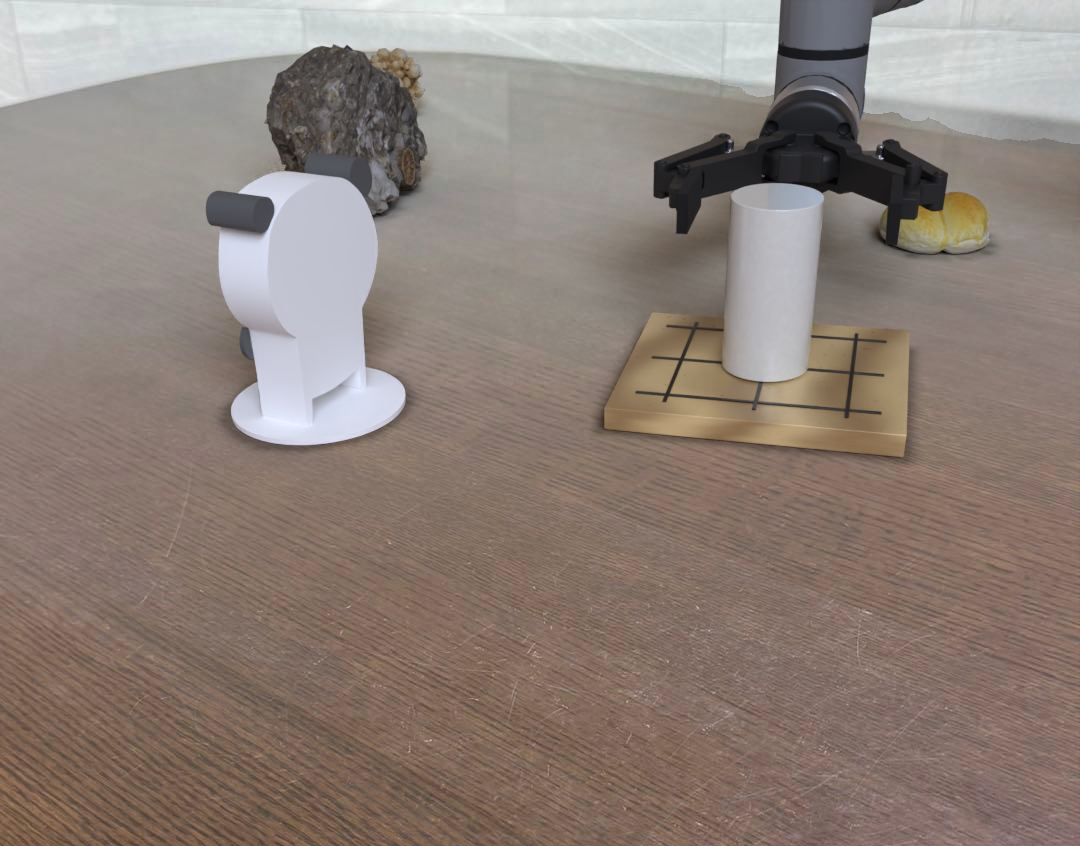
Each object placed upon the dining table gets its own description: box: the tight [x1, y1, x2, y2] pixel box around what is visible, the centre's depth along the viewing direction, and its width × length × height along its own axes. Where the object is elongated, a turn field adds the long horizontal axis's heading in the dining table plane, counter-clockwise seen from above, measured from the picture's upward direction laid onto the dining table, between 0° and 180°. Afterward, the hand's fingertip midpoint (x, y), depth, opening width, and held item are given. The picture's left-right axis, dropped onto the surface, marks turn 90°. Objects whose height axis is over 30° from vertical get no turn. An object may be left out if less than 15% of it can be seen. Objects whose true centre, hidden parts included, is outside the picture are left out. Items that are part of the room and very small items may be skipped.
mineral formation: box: [369, 47, 426, 111], centre depth 144 cm, size 8×13×15 cm
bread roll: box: [878, 191, 991, 255], centre depth 101 cm, size 8×9×4 cm
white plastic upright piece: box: [205, 152, 407, 446], centre depth 75 cm, size 12×11×15 cm
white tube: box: [722, 183, 826, 382], centre depth 75 cm, size 6×6×11 cm
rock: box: [263, 43, 429, 216], centre depth 113 cm, size 18×14×15 cm
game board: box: [603, 311, 911, 458], centre depth 79 cm, size 18×16×2 cm
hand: (785, 219), depth 78 cm, fingers open, 13 cm apart
